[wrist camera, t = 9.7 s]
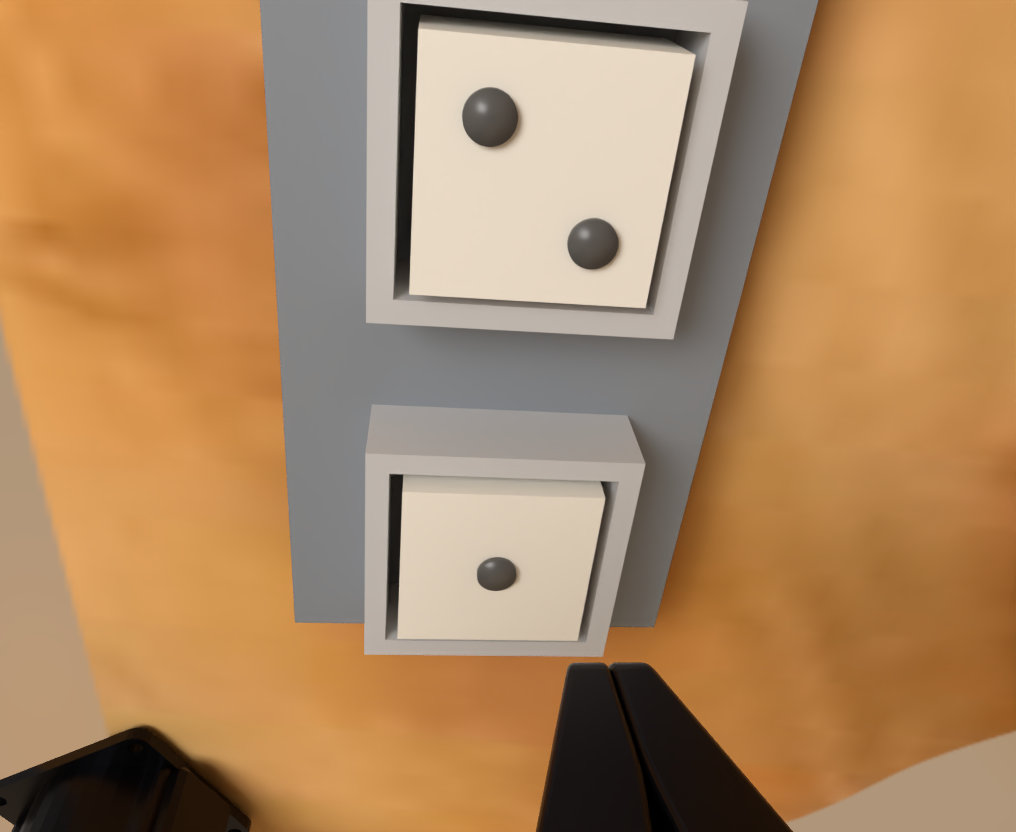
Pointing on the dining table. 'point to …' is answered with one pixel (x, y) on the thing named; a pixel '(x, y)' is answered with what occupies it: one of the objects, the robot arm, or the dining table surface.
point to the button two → (542, 160)
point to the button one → (496, 557)
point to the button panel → (498, 307)
